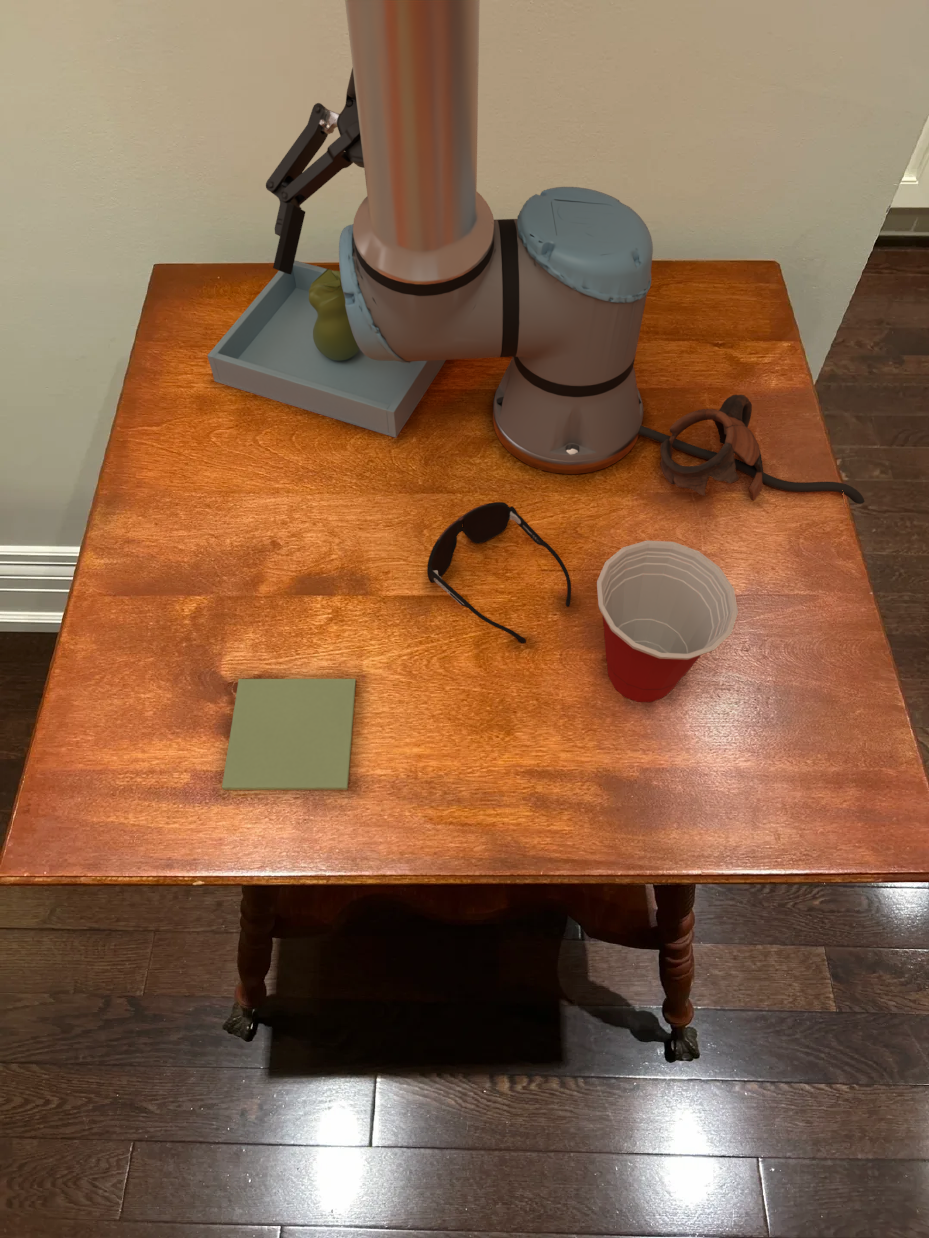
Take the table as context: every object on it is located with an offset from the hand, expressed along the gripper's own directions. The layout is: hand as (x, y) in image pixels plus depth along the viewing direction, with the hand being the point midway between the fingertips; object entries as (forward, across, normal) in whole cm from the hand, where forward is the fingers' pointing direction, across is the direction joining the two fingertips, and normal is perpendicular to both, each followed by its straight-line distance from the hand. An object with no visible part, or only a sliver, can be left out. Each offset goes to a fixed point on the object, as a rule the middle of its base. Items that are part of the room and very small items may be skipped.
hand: (339, 288), depth 99 cm
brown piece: (+7, -42, -4) cm, 43 cm away
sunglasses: (+22, -28, +11) cm, 37 cm away
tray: (+7, 0, -4) cm, 8 cm away
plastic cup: (+25, -43, +14) cm, 51 cm away
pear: (+7, 0, -4) cm, 8 cm away
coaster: (+37, -18, +26) cm, 48 cm away
